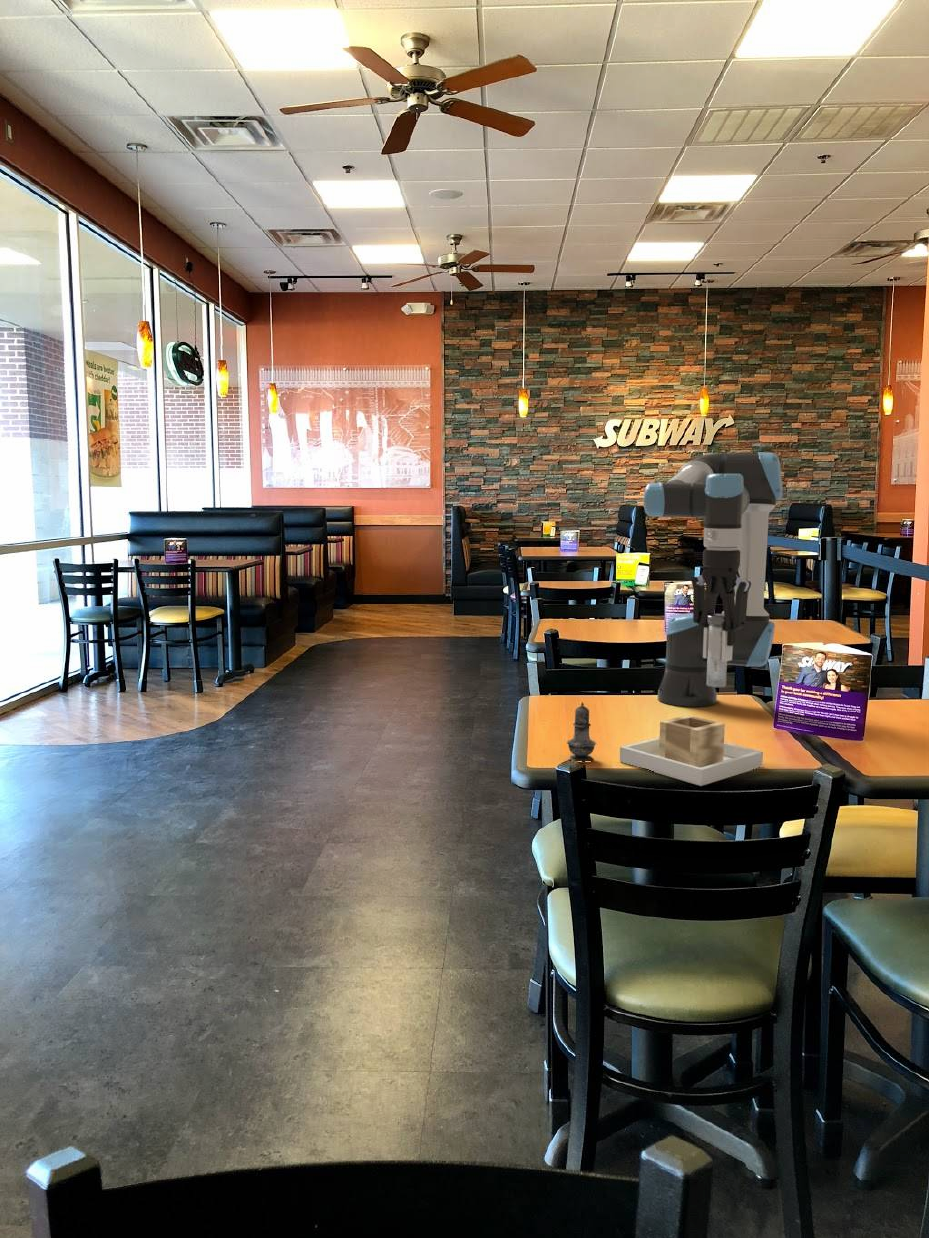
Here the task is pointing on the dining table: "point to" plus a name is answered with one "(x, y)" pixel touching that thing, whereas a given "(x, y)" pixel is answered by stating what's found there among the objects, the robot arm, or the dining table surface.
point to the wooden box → (692, 740)
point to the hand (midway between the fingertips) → (717, 658)
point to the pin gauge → (715, 651)
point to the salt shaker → (581, 736)
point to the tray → (732, 764)
